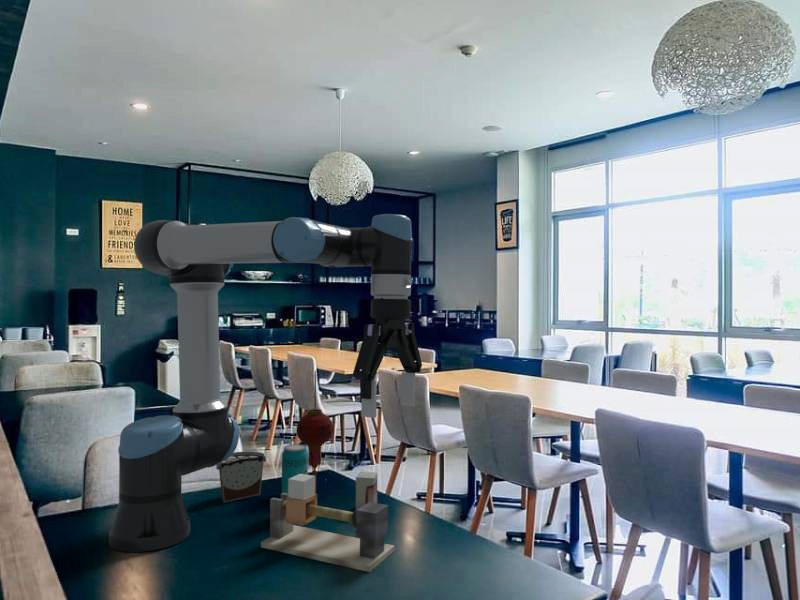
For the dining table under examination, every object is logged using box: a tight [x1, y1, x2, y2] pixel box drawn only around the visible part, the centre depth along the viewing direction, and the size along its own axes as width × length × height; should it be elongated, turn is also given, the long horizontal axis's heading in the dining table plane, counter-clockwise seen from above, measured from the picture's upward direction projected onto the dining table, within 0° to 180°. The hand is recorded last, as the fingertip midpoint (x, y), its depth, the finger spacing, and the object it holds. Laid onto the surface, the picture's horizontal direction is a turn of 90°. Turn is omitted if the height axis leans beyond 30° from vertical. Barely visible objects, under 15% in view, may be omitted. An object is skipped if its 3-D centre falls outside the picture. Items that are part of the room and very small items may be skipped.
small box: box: [355, 471, 378, 509], centre depth 137 cm, size 5×4×8 cm
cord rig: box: [260, 492, 396, 573], centre depth 114 cm, size 24×10×10 cm, turn 64°
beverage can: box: [281, 443, 309, 494], centre depth 133 cm, size 6×6×15 cm
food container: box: [215, 451, 267, 504], centre depth 146 cm, size 12×6×10 cm, turn 130°
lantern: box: [296, 370, 334, 490], centre depth 151 cm, size 10×10×30 cm
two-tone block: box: [286, 474, 318, 527], centre depth 117 cm, size 4×5×8 cm
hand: (389, 411), depth 111 cm, fingers open, 13 cm apart
